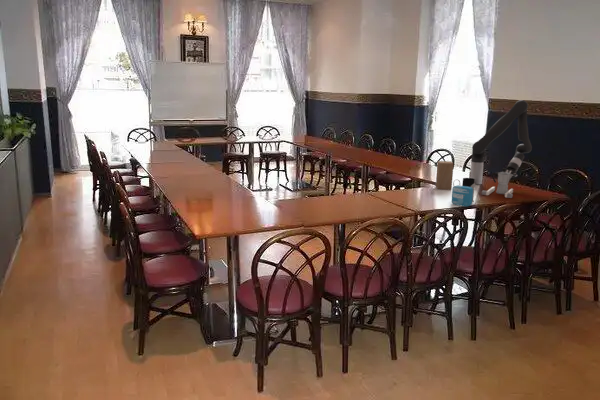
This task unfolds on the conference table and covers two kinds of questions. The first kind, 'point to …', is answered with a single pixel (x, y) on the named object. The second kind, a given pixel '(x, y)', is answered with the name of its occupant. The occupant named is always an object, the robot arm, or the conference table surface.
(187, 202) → the conference table surface
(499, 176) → the coffee maker
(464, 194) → the data package
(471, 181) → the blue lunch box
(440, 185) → the wooden block
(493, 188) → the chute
